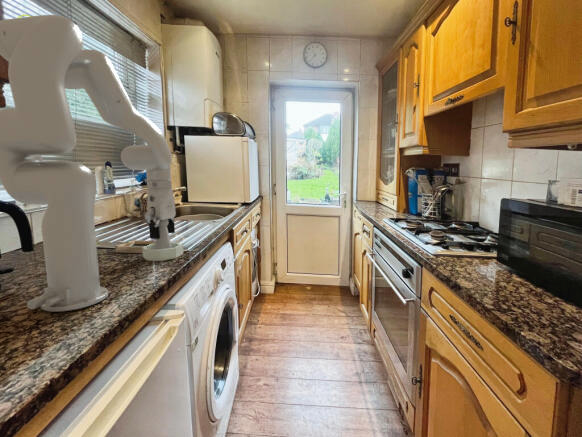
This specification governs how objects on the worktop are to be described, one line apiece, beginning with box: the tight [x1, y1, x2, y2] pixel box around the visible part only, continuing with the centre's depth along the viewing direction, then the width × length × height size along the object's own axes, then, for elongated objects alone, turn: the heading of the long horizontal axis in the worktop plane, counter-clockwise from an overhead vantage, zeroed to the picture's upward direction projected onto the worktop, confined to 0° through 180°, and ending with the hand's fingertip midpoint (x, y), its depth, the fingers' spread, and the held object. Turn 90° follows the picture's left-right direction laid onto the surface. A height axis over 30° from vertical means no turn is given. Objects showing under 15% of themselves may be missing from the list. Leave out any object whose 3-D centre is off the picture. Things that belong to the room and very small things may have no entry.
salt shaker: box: [154, 219, 172, 249], centre depth 102 cm, size 6×6×13 cm
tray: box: [114, 239, 155, 254], centre depth 111 cm, size 11×11×2 cm
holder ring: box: [142, 242, 184, 262], centre depth 102 cm, size 12×12×4 cm
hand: (163, 235), depth 102 cm, fingers open, 9 cm apart
